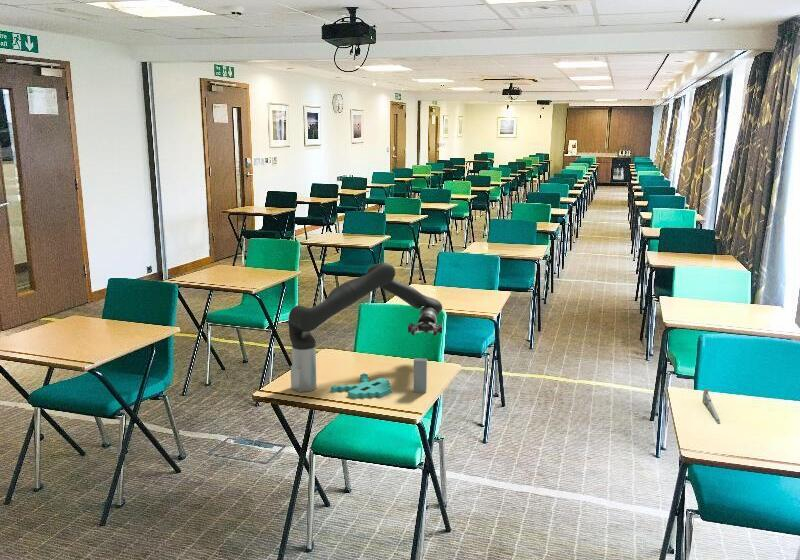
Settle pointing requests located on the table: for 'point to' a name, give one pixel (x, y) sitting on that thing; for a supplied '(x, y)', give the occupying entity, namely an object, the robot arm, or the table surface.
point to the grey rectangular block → (420, 375)
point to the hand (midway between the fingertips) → (423, 333)
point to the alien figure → (366, 388)
